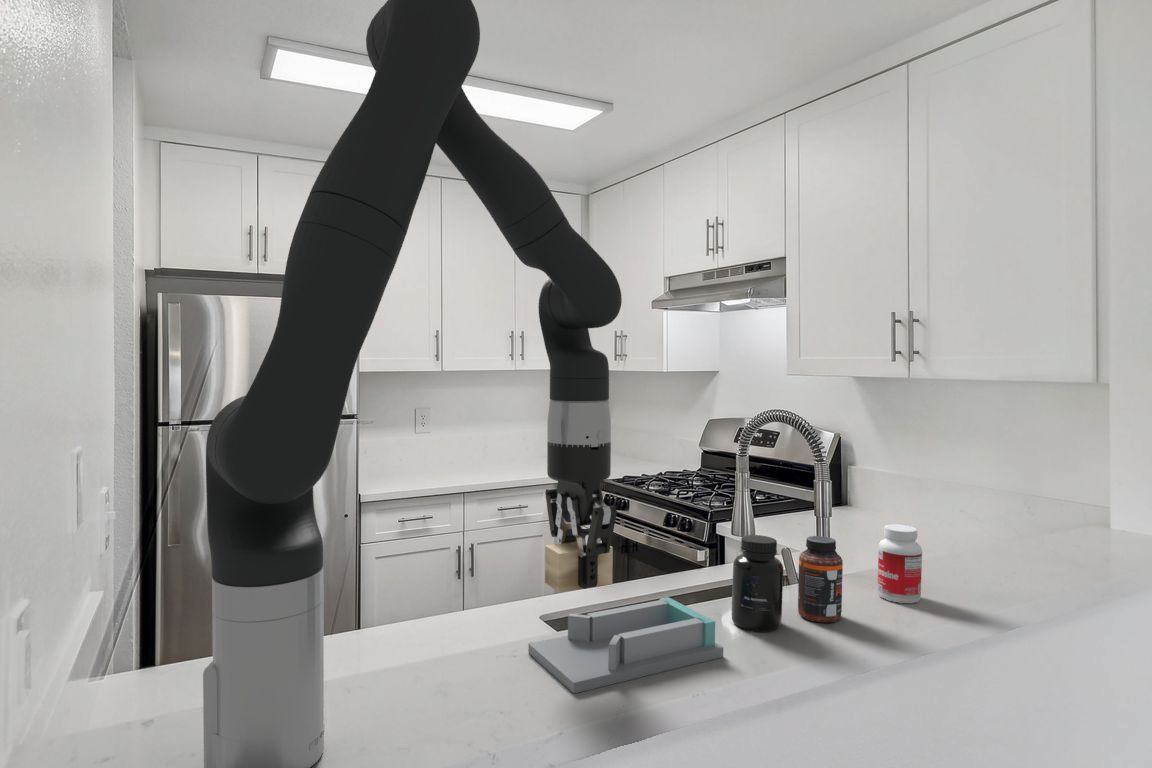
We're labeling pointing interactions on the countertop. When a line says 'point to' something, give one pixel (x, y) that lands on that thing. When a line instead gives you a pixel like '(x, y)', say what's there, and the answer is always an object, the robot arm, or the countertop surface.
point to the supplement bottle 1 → (757, 585)
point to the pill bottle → (899, 565)
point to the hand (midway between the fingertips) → (578, 580)
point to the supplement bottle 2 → (820, 581)
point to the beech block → (572, 567)
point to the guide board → (627, 644)
